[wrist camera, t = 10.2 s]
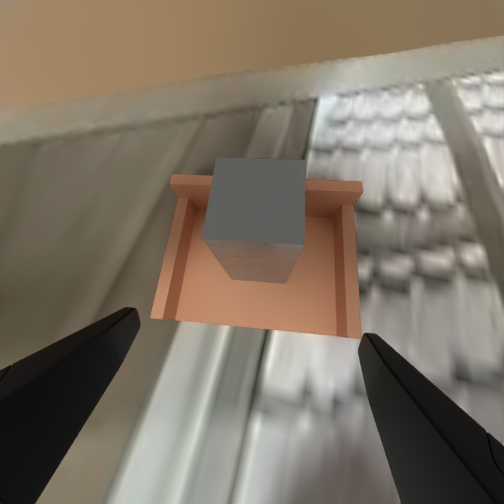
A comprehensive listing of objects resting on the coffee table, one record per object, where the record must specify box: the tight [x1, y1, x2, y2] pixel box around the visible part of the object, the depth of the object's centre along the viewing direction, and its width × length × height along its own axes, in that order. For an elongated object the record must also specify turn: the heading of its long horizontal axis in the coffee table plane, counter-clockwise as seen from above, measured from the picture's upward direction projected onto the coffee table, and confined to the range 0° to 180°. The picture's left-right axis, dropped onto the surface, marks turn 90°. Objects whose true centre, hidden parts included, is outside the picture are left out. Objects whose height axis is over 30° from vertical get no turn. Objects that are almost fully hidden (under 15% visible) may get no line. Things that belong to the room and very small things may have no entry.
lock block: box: [202, 157, 306, 284], centre depth 16 cm, size 5×5×10 cm
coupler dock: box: [150, 174, 363, 339], centre depth 19 cm, size 12×16×5 cm
